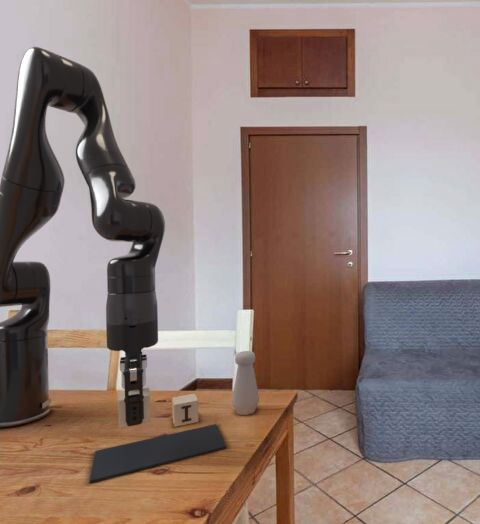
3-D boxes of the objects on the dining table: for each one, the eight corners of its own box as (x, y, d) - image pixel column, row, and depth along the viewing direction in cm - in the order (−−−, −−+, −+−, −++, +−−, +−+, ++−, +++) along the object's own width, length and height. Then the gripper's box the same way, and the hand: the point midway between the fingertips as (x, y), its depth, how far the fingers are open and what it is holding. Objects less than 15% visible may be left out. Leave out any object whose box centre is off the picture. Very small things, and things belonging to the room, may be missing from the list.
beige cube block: (174, 427, 74) (174, 404, 74) (172, 418, 78) (172, 397, 78) (198, 422, 76) (198, 400, 76) (195, 413, 80) (195, 393, 80)
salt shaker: (251, 418, 78) (251, 356, 78) (226, 415, 79) (226, 355, 79) (263, 406, 84) (263, 349, 84) (240, 405, 85) (239, 348, 85)
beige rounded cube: (118, 428, 60) (118, 401, 60) (119, 418, 64) (119, 392, 64) (150, 422, 62) (149, 395, 62) (149, 412, 66) (149, 387, 66)
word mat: (89, 483, 56) (89, 480, 56) (95, 453, 65) (95, 450, 65) (226, 448, 66) (226, 445, 66) (215, 425, 75) (215, 424, 75)
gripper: (109, 314, 67) (111, 408, 68) (102, 327, 55) (105, 442, 55) (155, 311, 71) (157, 400, 71) (159, 322, 59) (162, 430, 59)
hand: (134, 418), depth 63 cm, fingers closed on beige rounded cube, 4 cm apart
